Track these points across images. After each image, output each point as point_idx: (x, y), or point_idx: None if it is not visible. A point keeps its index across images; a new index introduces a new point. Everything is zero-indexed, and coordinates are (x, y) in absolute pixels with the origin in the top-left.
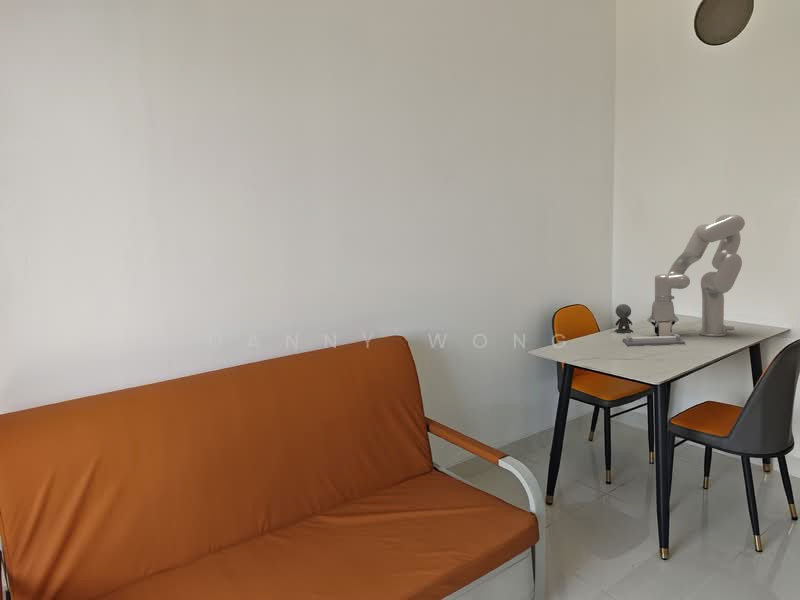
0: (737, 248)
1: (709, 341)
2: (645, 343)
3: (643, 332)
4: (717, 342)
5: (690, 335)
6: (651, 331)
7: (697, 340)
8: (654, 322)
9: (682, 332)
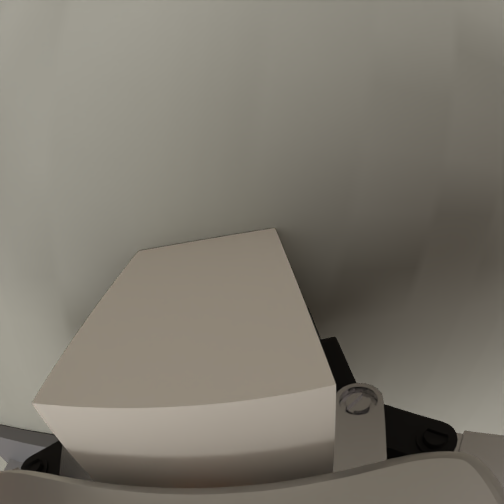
0: None
1: (487, 416)
2: None
3: (13, 112)
4: (501, 421)
5: (495, 265)
6: (102, 31)
7: (452, 415)
8: (63, 464)
9: (475, 110)
